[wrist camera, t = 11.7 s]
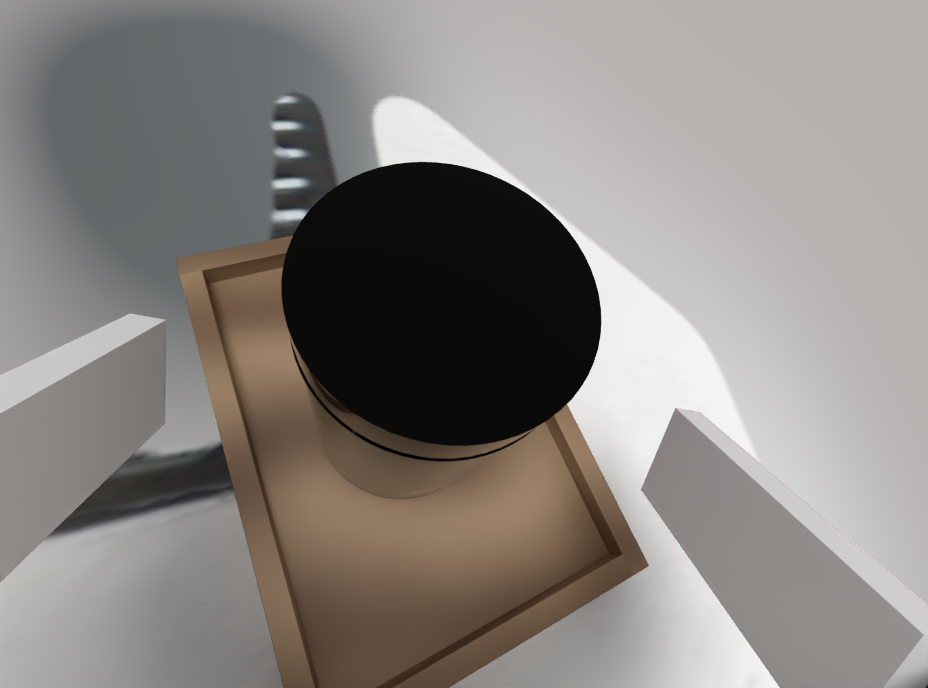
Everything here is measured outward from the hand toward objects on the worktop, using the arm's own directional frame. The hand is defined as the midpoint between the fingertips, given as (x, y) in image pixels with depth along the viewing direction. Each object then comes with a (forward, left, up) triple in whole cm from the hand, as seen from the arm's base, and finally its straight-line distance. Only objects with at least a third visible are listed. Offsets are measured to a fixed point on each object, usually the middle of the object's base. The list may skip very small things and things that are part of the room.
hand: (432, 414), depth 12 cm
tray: (-2, +1, -8) cm, 8 cm away
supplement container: (-2, +1, -7) cm, 7 cm away
